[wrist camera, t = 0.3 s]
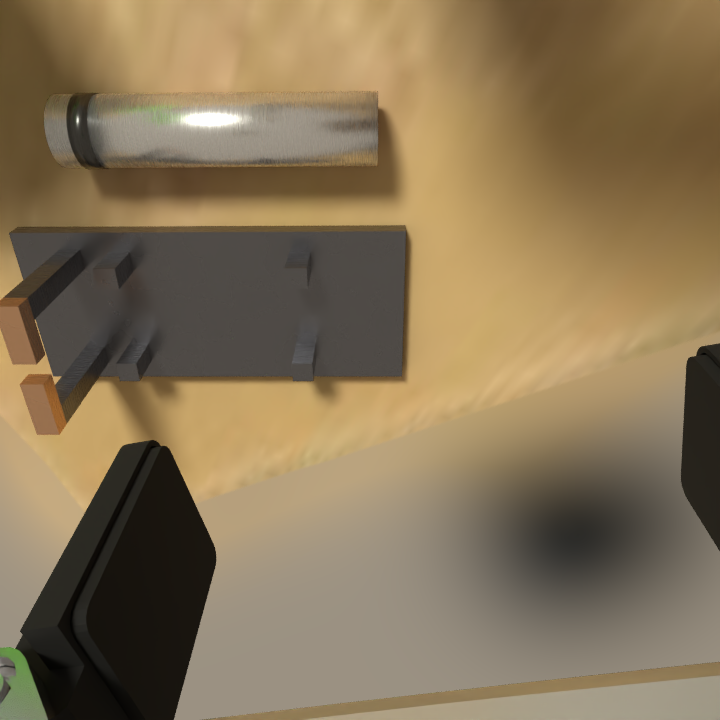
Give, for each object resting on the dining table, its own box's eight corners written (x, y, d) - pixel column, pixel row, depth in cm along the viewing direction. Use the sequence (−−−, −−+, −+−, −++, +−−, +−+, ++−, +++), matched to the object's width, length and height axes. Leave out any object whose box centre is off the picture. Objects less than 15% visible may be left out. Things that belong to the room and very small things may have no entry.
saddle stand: (17, 227, 46) (-69, 287, 37) (405, 225, 45) (413, 285, 36) (59, 368, 52) (-6, 449, 43) (401, 368, 51) (407, 450, 42)
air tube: (83, 159, 43) (55, 177, 39) (67, 88, 41) (35, 99, 37) (377, 157, 43) (377, 175, 39) (377, 85, 40) (378, 96, 36)
